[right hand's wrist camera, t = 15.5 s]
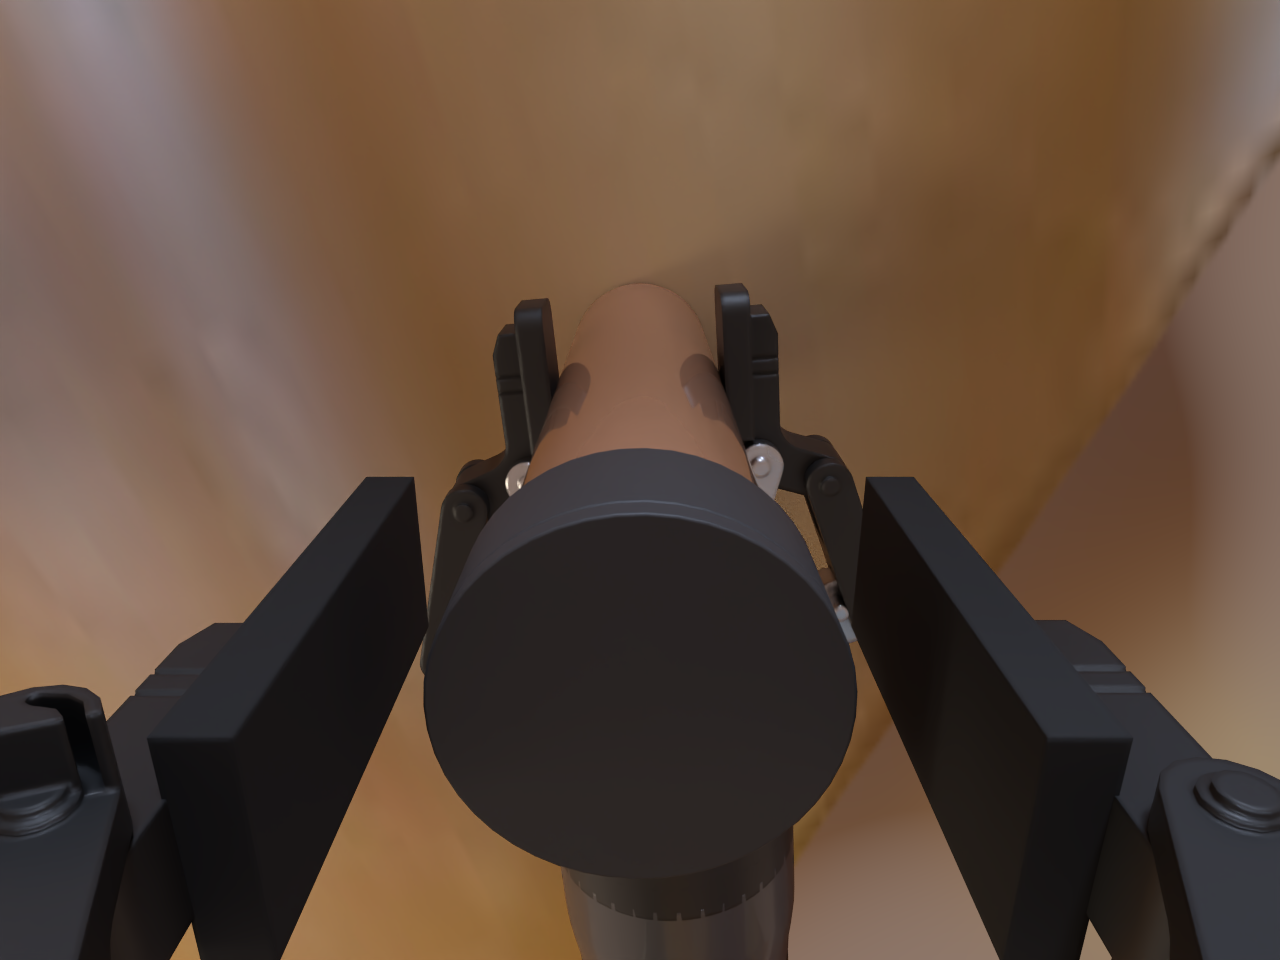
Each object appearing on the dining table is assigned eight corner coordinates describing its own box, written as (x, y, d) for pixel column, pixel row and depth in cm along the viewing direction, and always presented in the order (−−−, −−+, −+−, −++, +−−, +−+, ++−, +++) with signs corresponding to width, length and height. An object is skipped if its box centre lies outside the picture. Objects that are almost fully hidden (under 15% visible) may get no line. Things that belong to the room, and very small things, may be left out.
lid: (845, 728, 13) (885, 840, 11) (517, 792, 13) (495, 911, 11) (786, 408, 11) (820, 466, 9) (410, 493, 12) (360, 568, 9)
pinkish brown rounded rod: (621, 436, 30) (592, 872, 12) (548, 330, 29) (390, 637, 10) (730, 368, 29) (879, 726, 11) (660, 256, 28) (698, 452, 10)
